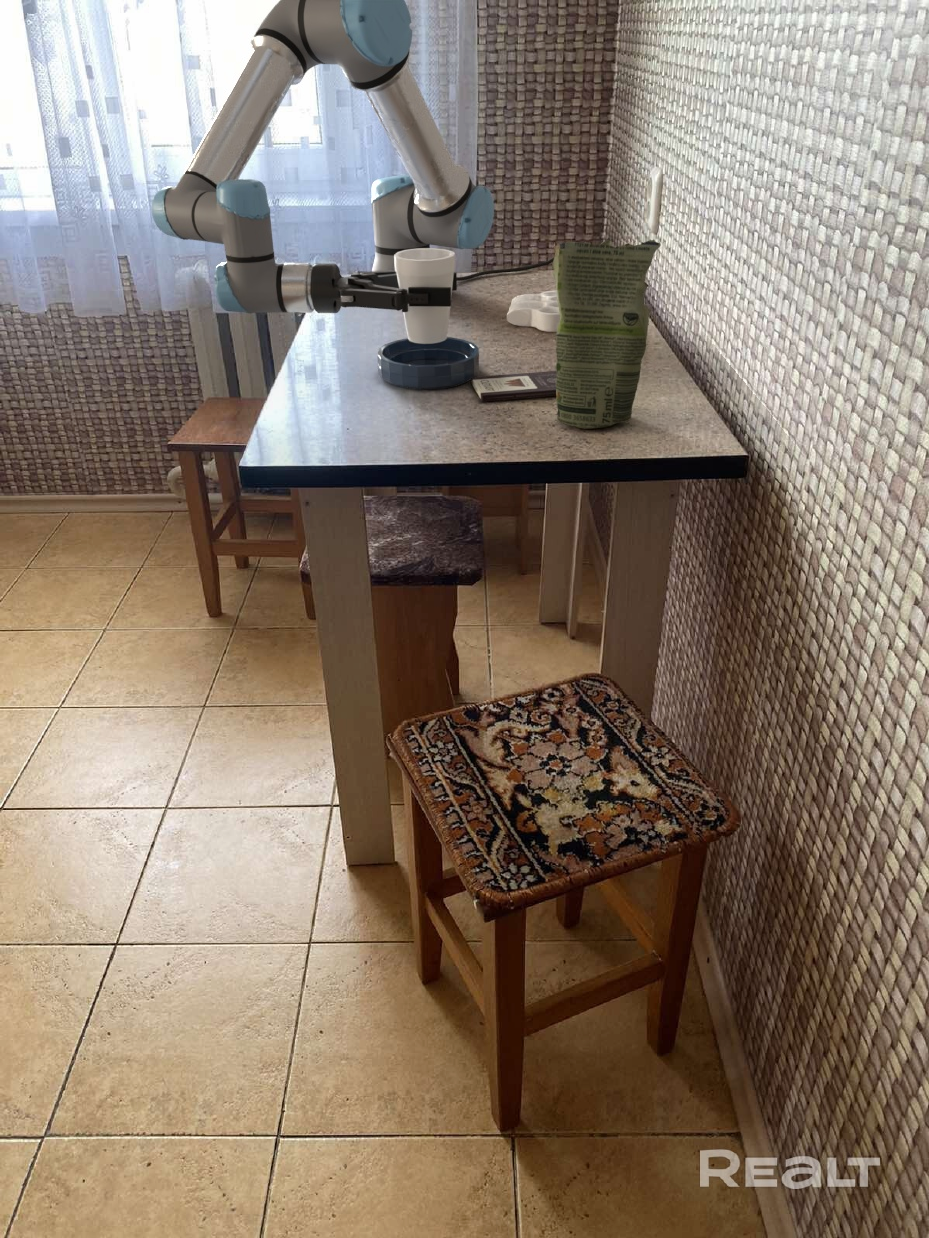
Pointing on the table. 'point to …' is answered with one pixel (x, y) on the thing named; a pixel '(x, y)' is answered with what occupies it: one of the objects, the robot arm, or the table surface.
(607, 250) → the pouch
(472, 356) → the bowl
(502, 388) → the chocolate bar
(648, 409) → the table surface
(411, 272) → the foam cup
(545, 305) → the white brass knuckles
